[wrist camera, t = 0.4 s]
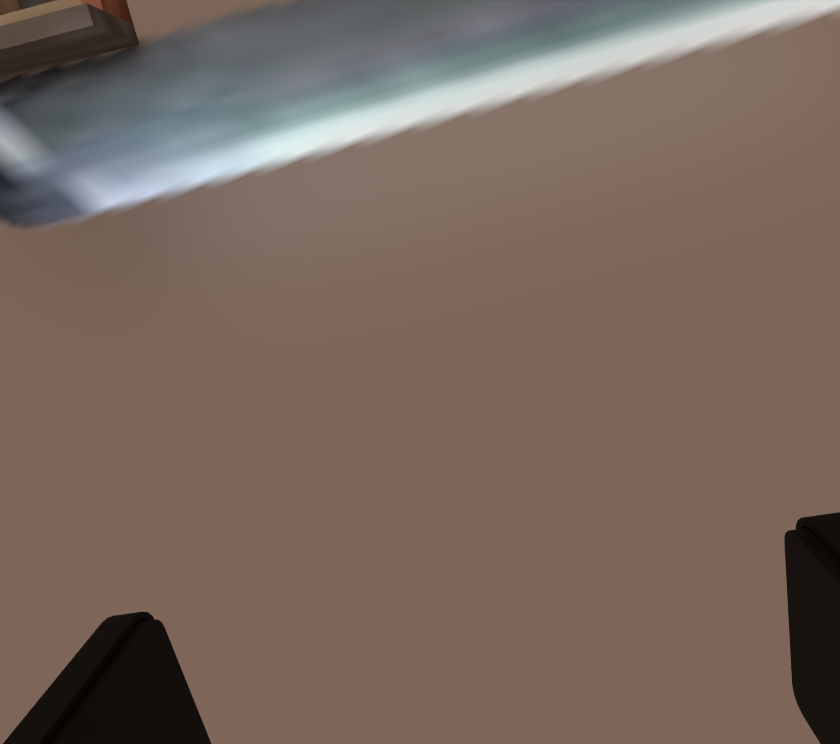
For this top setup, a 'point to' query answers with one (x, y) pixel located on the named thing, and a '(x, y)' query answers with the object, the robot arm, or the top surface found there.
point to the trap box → (60, 32)
